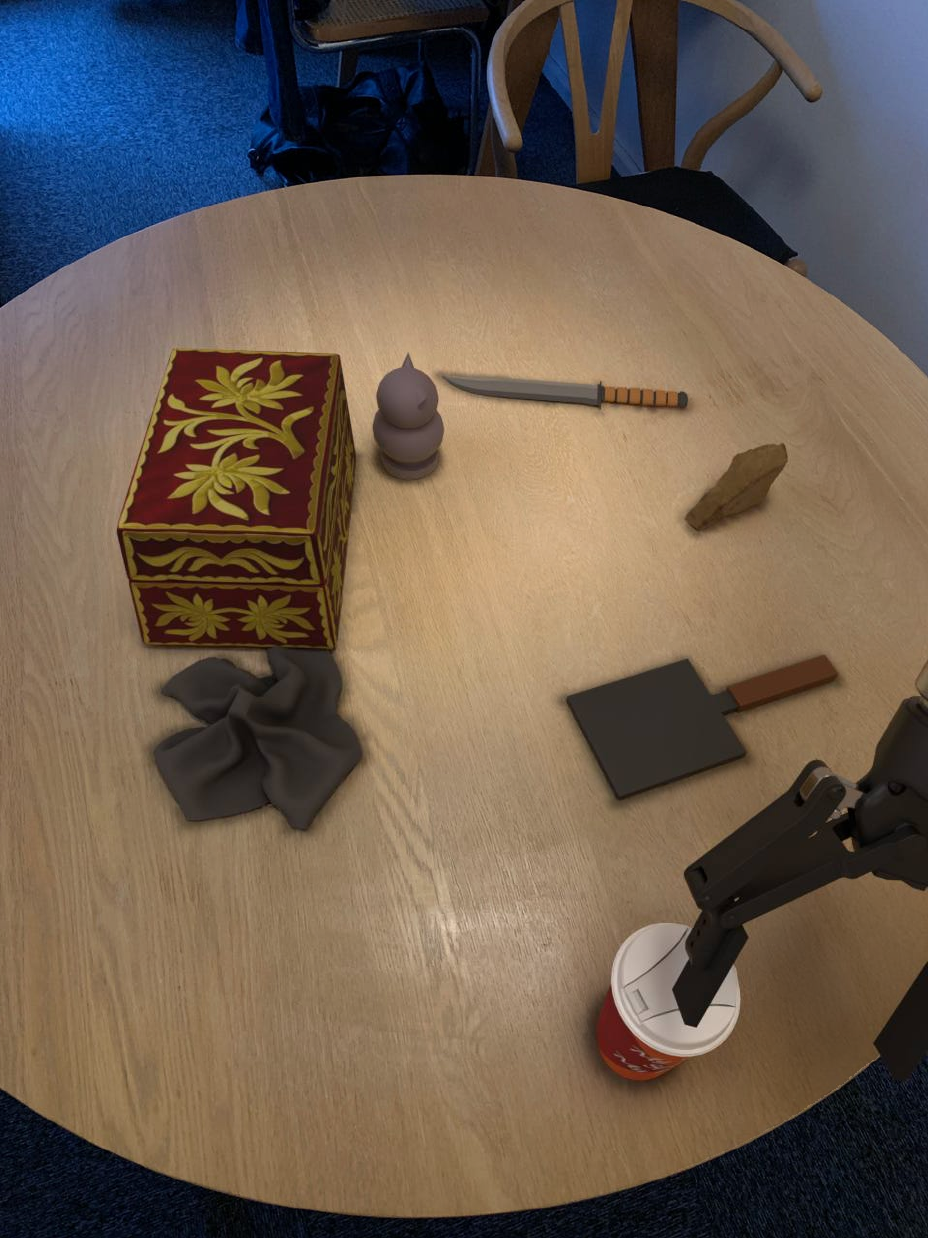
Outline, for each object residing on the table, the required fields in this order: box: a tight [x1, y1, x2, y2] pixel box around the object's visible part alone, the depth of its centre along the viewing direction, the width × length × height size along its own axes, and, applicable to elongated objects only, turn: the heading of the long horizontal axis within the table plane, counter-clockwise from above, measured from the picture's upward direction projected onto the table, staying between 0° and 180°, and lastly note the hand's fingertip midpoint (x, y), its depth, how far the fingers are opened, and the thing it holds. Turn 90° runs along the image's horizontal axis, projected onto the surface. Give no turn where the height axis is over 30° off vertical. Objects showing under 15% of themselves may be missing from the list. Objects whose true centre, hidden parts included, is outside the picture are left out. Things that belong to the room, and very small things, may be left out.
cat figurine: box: [372, 352, 445, 481], centre depth 102 cm, size 8×8×12 cm
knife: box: [441, 374, 689, 410], centre depth 114 cm, size 30×1×5 cm
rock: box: [685, 442, 789, 531], centre depth 102 cm, size 11×9×10 cm
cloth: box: [153, 647, 363, 830], centre depth 83 cm, size 22×19×6 cm
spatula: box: [566, 654, 840, 801], centre depth 88 cm, size 11×26×1 cm, turn 111°
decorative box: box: [116, 348, 357, 650], centre depth 92 cm, size 28×19×15 cm
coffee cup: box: [595, 922, 741, 1081], centre depth 64 cm, size 8×8×15 cm
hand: (788, 1036), depth 54 cm, fingers open, 13 cm apart
